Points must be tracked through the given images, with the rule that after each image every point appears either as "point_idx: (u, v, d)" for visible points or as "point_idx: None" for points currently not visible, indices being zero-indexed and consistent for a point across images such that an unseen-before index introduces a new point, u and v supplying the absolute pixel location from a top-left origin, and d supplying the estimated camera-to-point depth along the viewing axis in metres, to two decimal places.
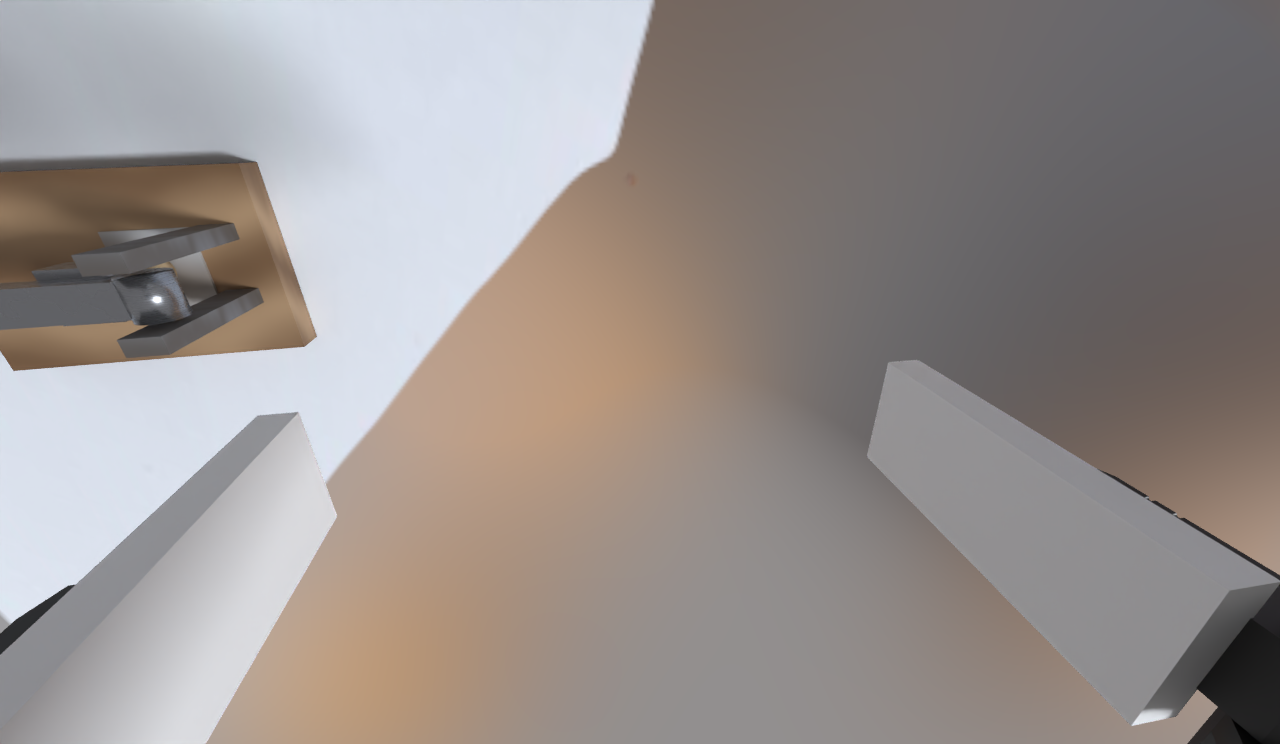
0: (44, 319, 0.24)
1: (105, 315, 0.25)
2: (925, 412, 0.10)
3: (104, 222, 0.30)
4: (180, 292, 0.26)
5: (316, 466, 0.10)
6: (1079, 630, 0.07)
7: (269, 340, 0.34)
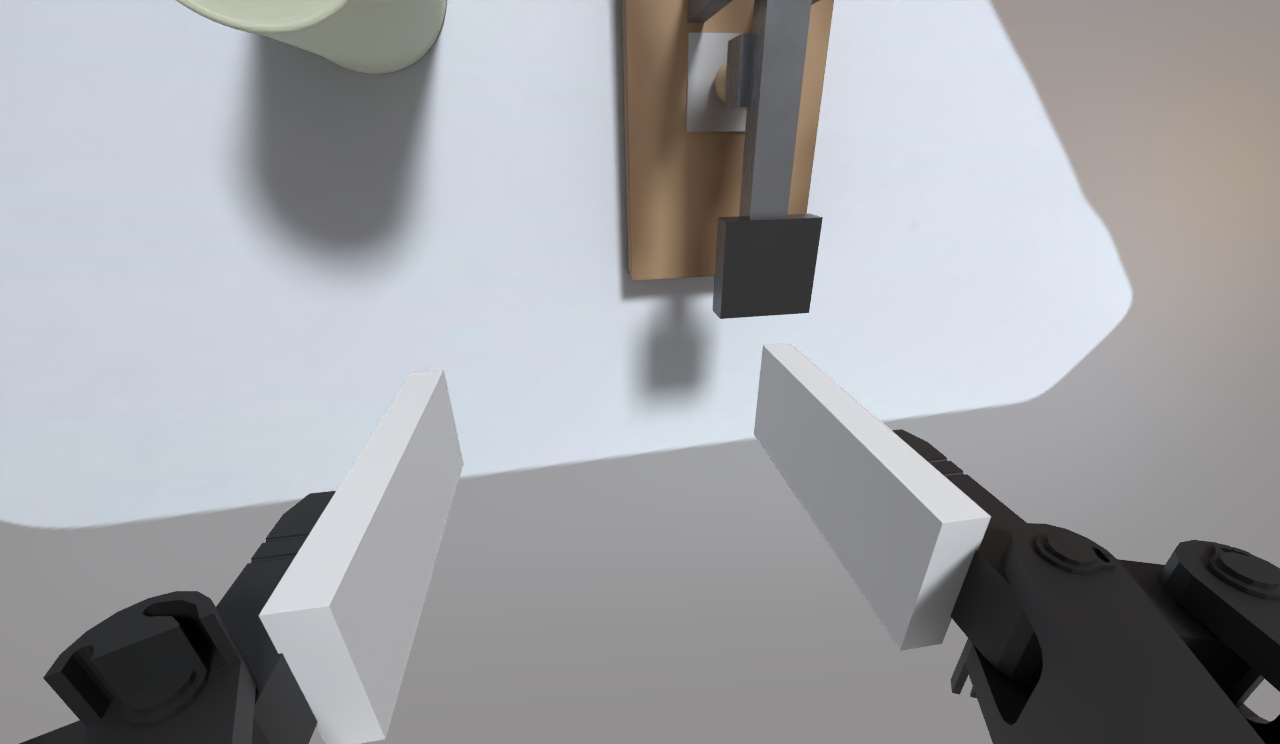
0: (795, 83, 0.22)
1: (802, 11, 0.21)
2: (784, 389, 0.11)
3: (677, 123, 0.29)
4: None
5: (451, 418, 0.12)
6: (871, 572, 0.08)
7: None
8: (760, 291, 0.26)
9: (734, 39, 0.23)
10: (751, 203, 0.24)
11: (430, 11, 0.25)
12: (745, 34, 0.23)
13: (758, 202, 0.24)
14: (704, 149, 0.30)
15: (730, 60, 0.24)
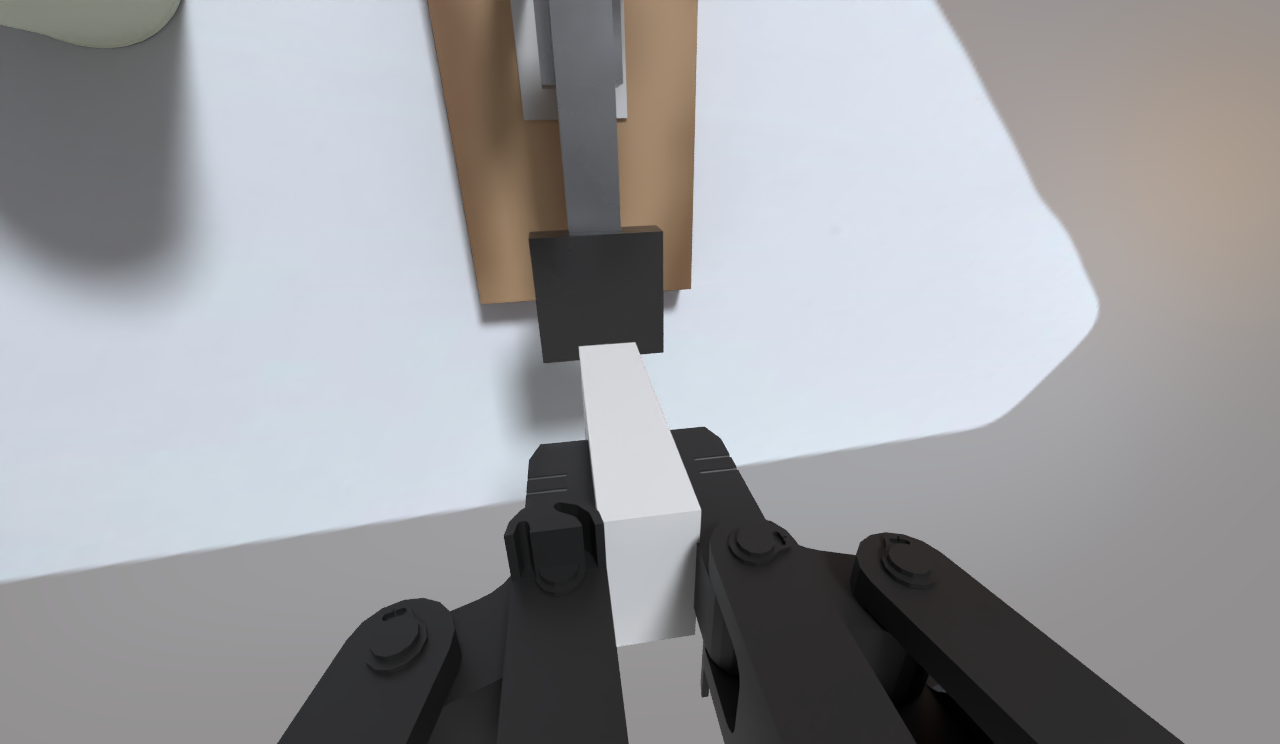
0: (603, 50, 0.16)
1: None
2: None
3: (511, 109, 0.23)
4: None
5: None
6: None
7: None
8: (592, 327, 0.20)
9: None
10: (568, 213, 0.18)
11: None
12: None
13: (577, 212, 0.18)
14: (551, 142, 0.24)
15: None
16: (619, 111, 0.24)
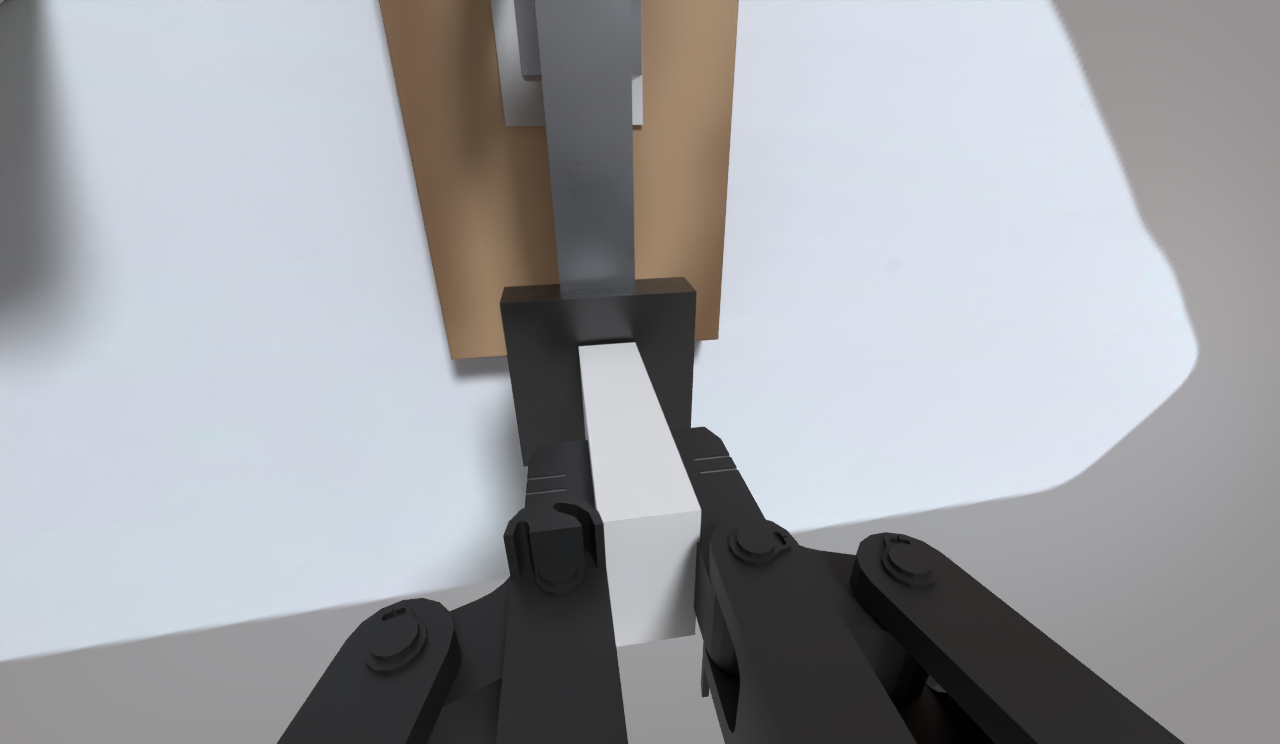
0: (614, 22, 0.10)
1: None
2: None
3: (489, 112, 0.17)
4: None
5: None
6: None
7: None
8: None
9: None
10: (559, 264, 0.13)
11: None
12: None
13: (573, 262, 0.13)
14: (542, 155, 0.18)
15: None
16: (632, 116, 0.18)
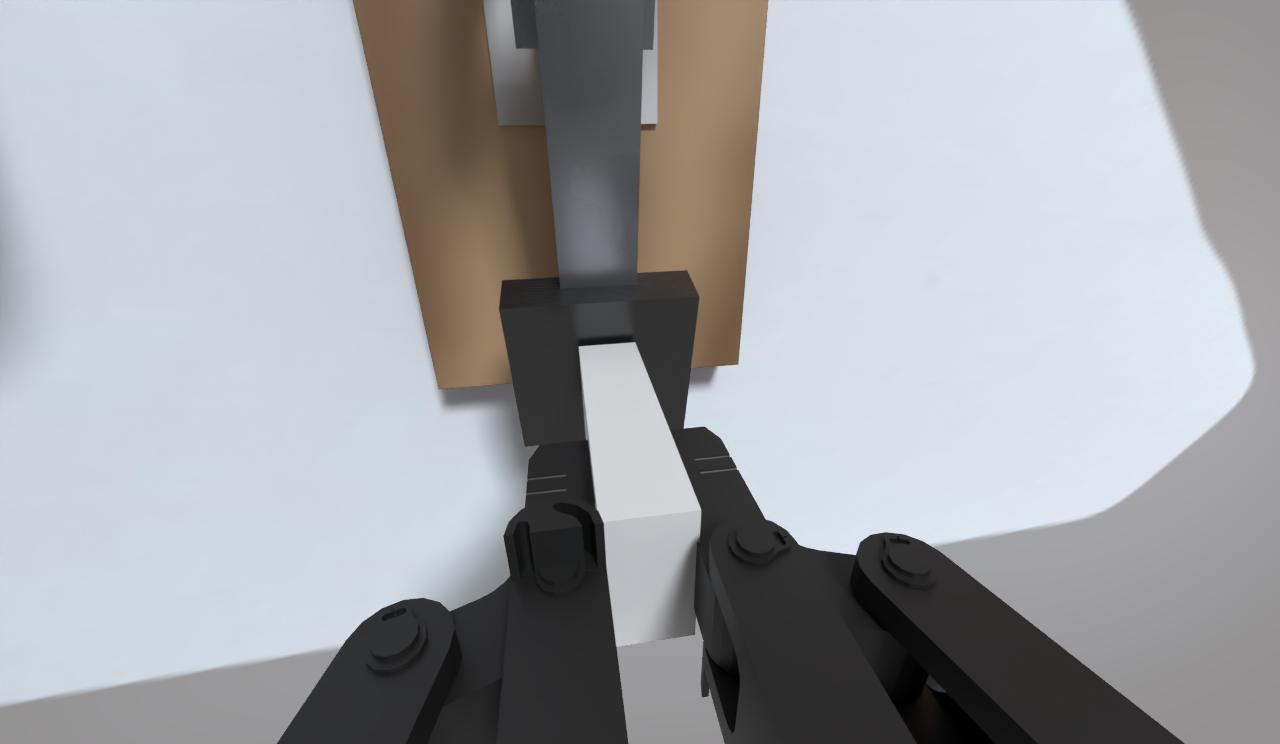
0: (624, 7, 0.09)
1: None
2: None
3: (479, 108, 0.15)
4: None
5: None
6: None
7: None
8: None
9: None
10: (559, 264, 0.12)
11: None
12: None
13: (573, 262, 0.12)
14: (541, 159, 0.16)
15: None
16: (645, 113, 0.16)
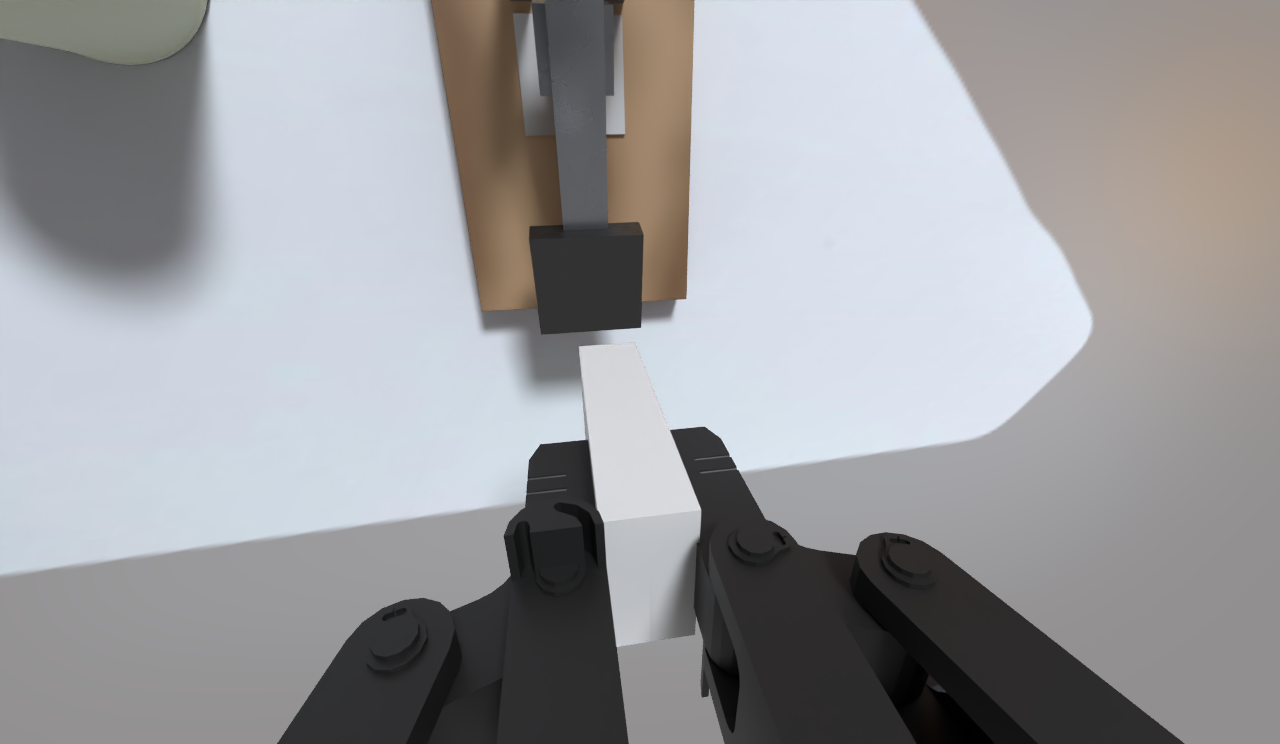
0: (595, 79, 0.18)
1: None
2: None
3: (513, 125, 0.24)
4: None
5: None
6: None
7: None
8: (582, 308, 0.23)
9: None
10: (563, 215, 0.21)
11: None
12: (536, 4, 0.18)
13: (571, 214, 0.21)
14: (551, 156, 0.25)
15: None
16: (617, 128, 0.25)
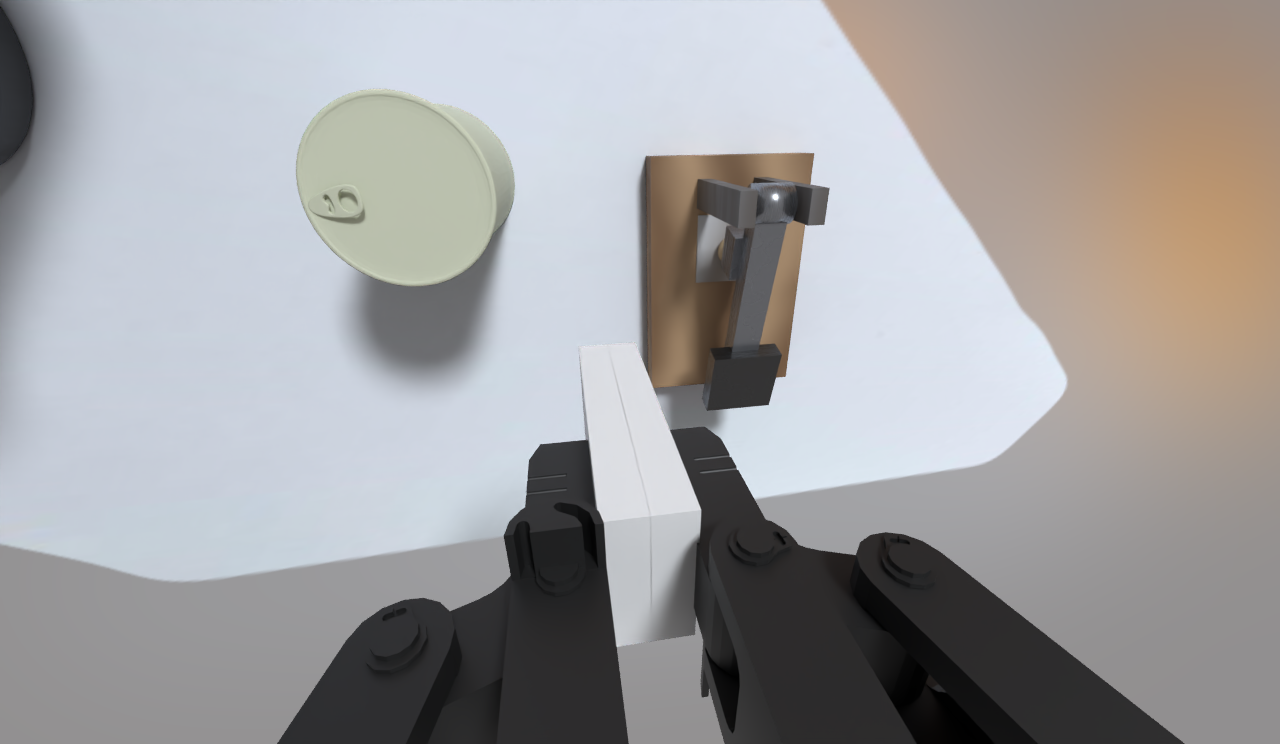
0: (769, 278, 0.32)
1: (778, 239, 0.30)
2: None
3: (688, 276, 0.38)
4: (771, 183, 0.29)
5: None
6: None
7: None
8: (735, 395, 0.37)
9: (730, 233, 0.32)
10: (733, 343, 0.35)
11: (505, 212, 0.33)
12: (738, 238, 0.31)
13: (738, 343, 0.35)
14: (709, 293, 0.39)
15: (727, 241, 0.33)
16: None
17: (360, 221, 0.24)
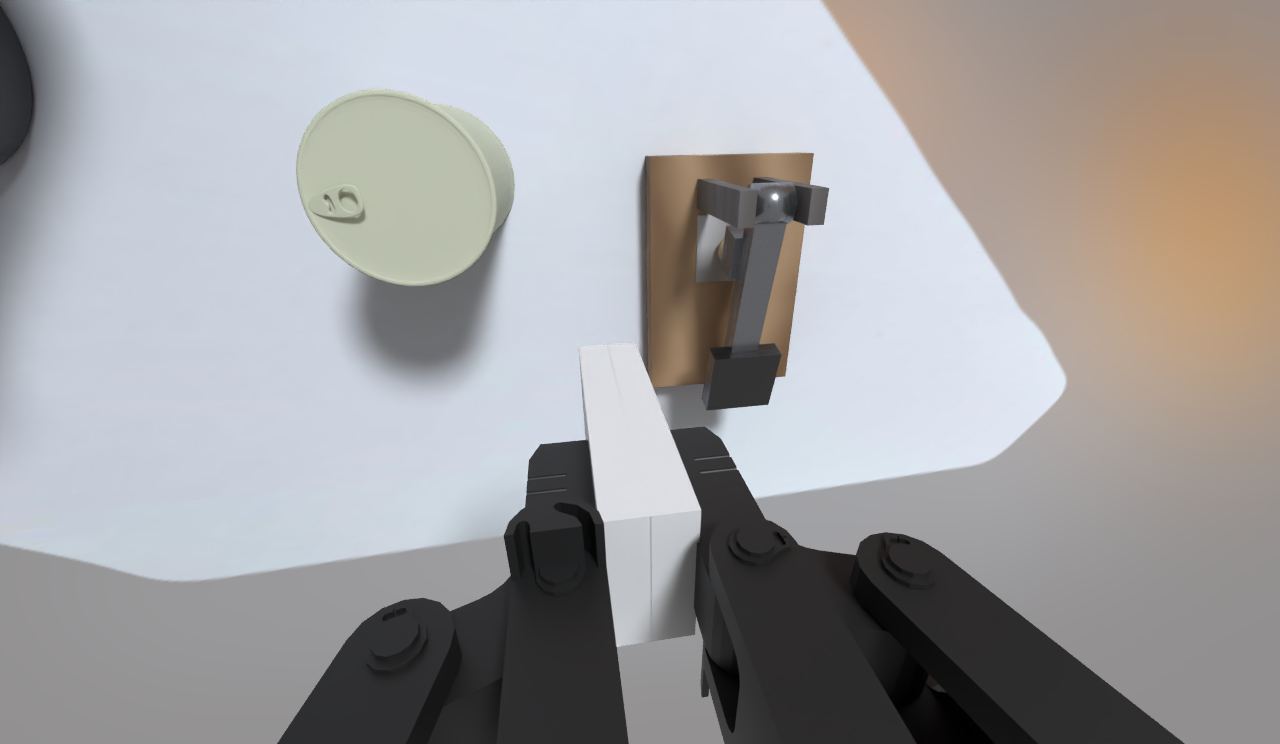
0: (769, 278, 0.32)
1: (777, 239, 0.30)
2: None
3: (688, 276, 0.38)
4: (771, 183, 0.29)
5: None
6: None
7: None
8: (735, 395, 0.37)
9: (730, 233, 0.32)
10: (733, 343, 0.35)
11: (505, 212, 0.33)
12: (737, 238, 0.31)
13: (738, 343, 0.35)
14: (709, 293, 0.39)
15: (726, 241, 0.33)
16: None
17: (360, 221, 0.24)
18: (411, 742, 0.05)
